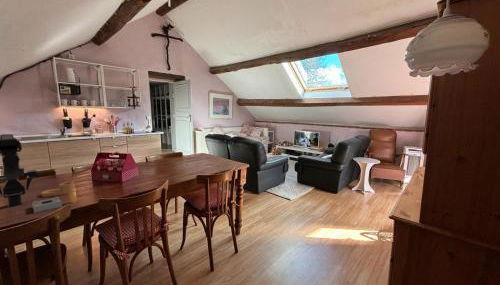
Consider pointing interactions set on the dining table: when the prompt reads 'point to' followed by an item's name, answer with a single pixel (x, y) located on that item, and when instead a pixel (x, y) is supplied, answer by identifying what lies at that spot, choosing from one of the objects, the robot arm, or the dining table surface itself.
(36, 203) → the grey slotted block
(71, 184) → the wooden mallet
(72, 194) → the wedge pin
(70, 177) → the dining table surface
